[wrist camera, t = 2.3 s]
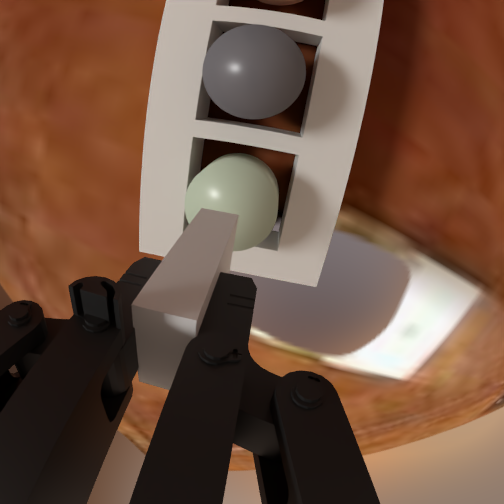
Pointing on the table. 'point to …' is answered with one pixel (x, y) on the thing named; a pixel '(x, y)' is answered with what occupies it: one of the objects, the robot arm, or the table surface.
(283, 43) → the button charcoal
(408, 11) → the table surface
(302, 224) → the board
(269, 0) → the button terracotta
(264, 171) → the button sage
